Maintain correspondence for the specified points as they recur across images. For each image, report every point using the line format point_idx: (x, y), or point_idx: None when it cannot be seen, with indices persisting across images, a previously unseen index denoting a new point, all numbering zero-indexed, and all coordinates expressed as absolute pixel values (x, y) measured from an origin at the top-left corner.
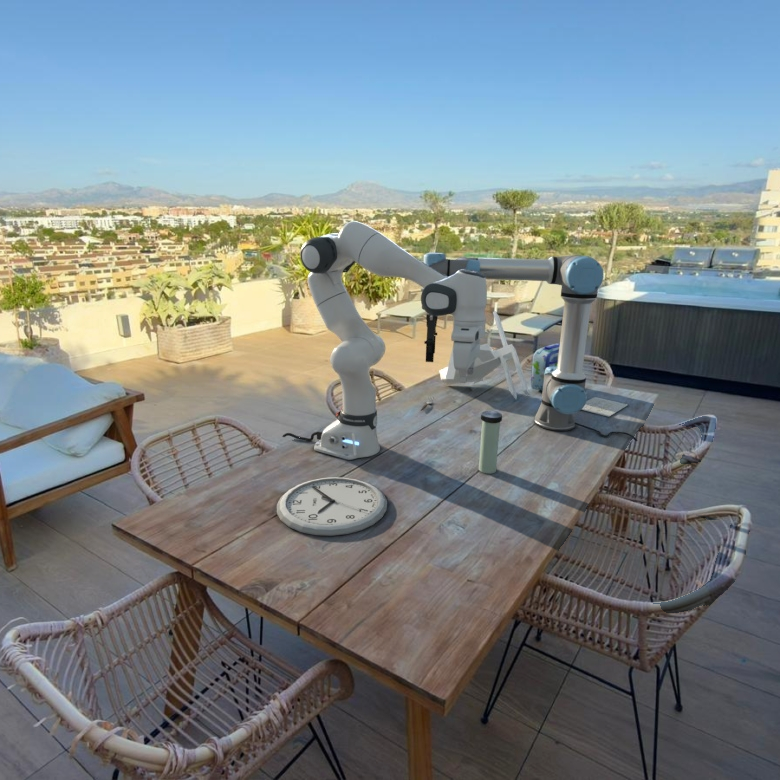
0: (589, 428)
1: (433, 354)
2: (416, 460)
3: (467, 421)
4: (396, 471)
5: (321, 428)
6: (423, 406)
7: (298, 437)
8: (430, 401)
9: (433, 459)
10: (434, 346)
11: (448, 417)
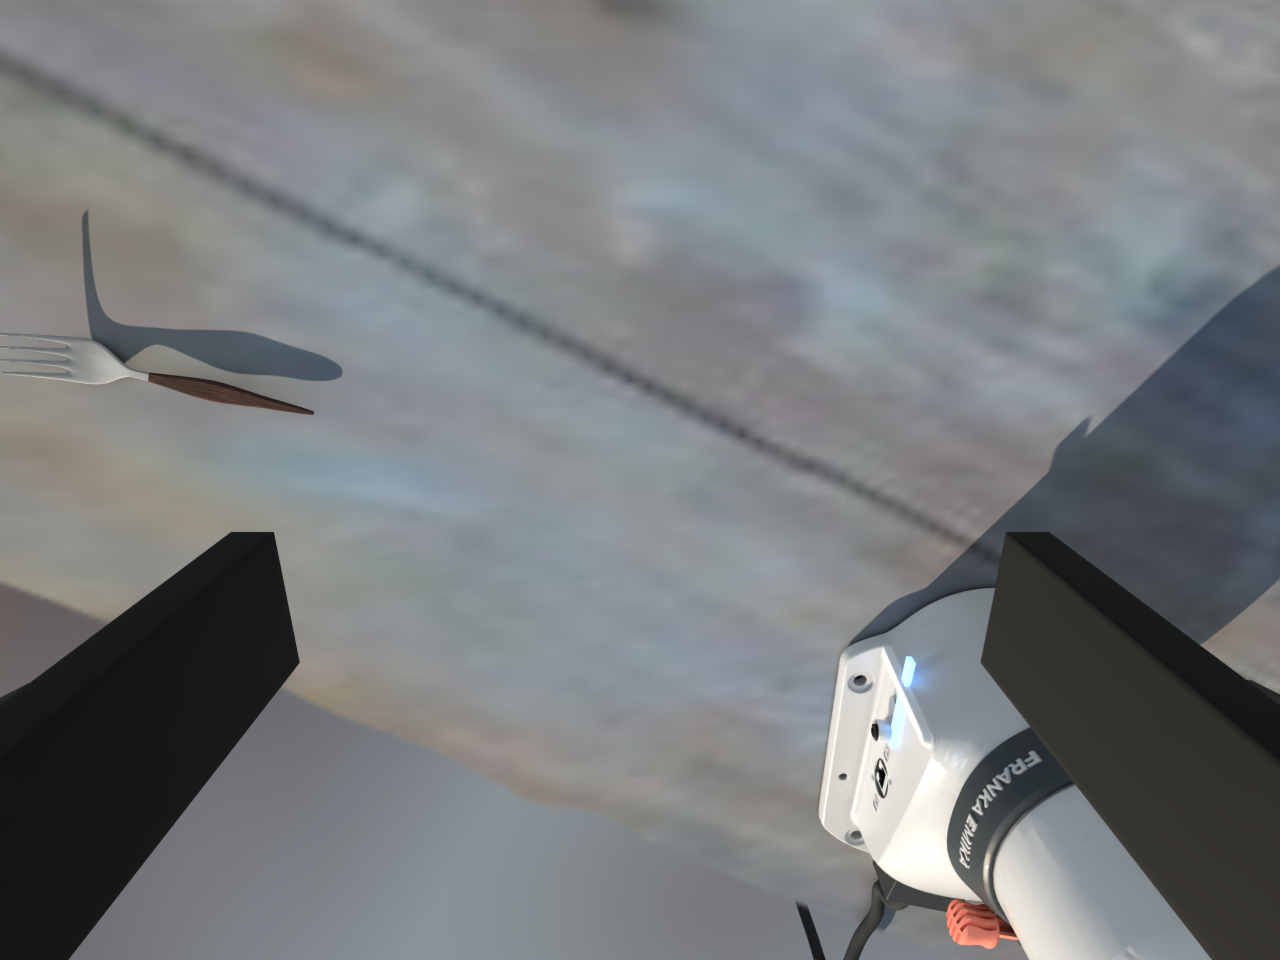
0: None
1: (1161, 618)
2: (1134, 384)
3: (414, 30)
4: (1261, 477)
5: (914, 904)
6: (225, 401)
7: (869, 935)
8: (74, 354)
9: (1128, 285)
10: (185, 622)
11: (366, 197)
